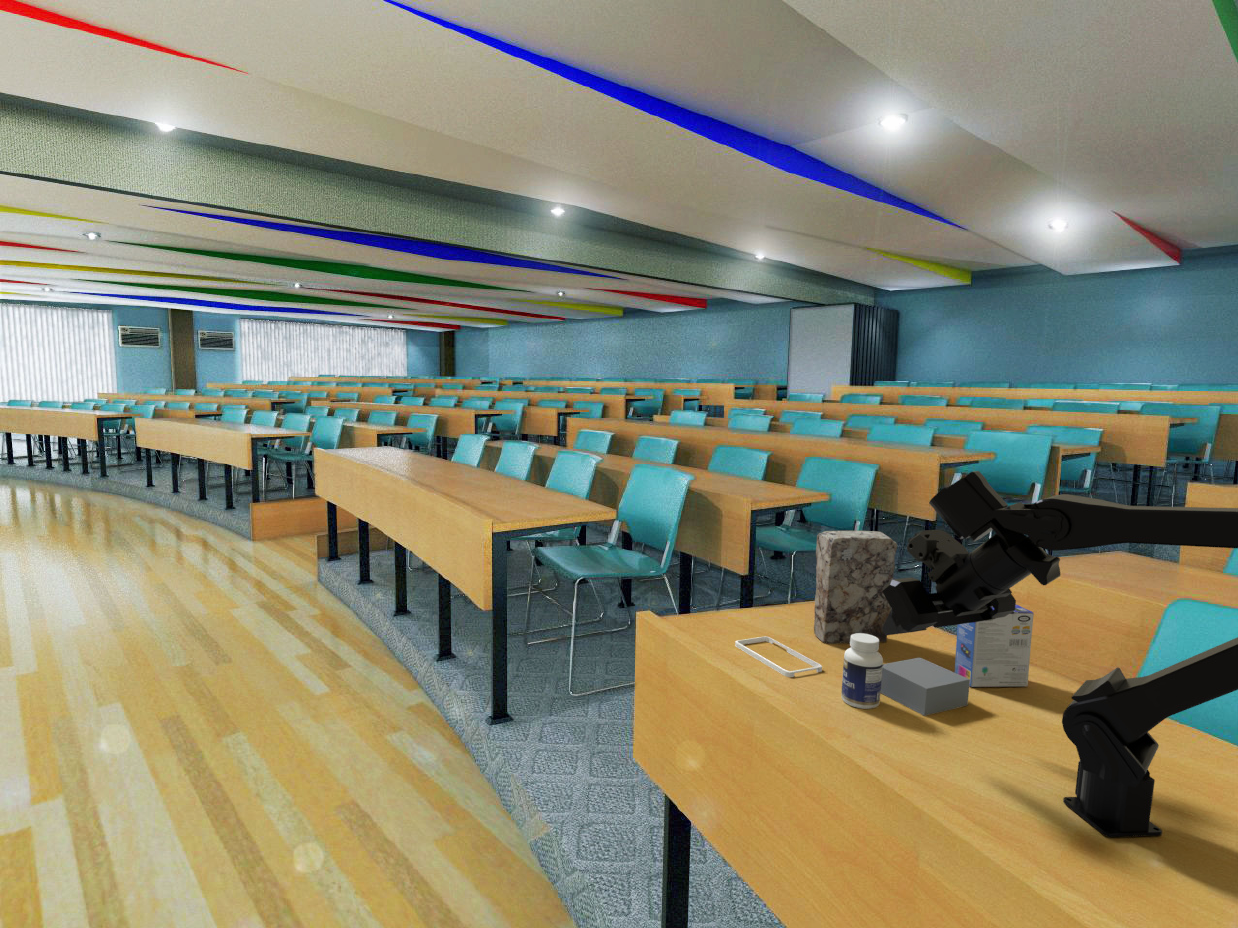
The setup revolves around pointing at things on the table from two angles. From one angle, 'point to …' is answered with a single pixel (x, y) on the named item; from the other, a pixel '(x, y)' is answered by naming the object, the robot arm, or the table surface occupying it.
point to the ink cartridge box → (995, 650)
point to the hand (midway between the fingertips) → (909, 627)
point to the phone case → (784, 672)
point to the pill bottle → (862, 672)
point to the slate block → (924, 686)
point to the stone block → (852, 584)
